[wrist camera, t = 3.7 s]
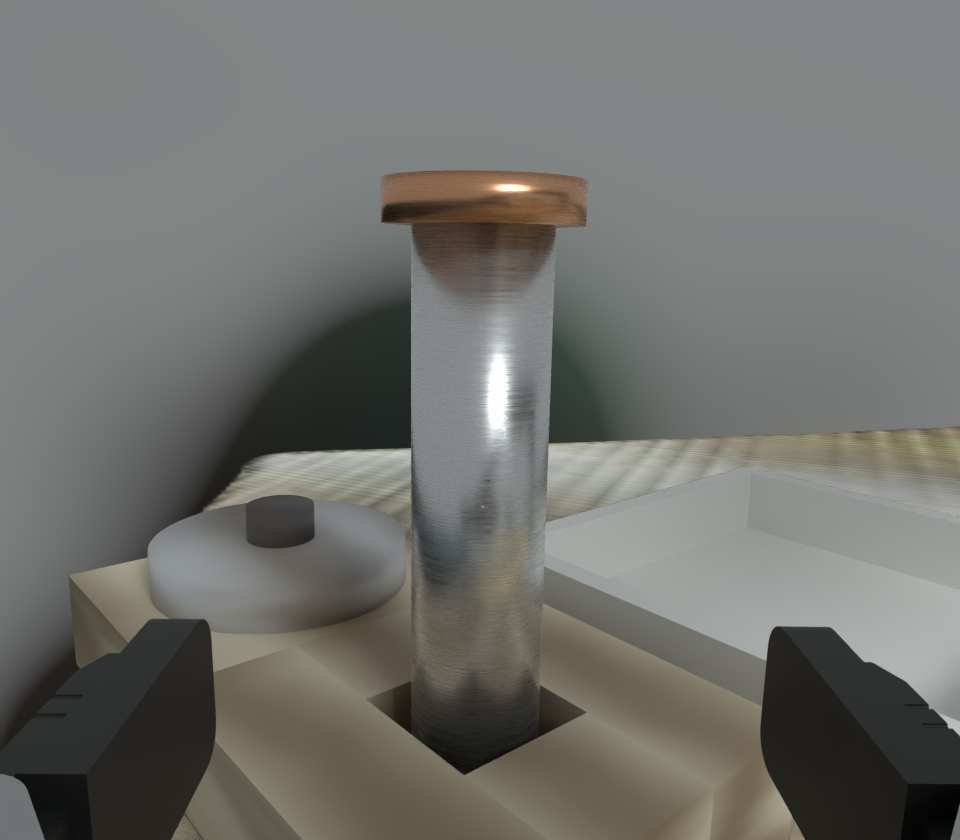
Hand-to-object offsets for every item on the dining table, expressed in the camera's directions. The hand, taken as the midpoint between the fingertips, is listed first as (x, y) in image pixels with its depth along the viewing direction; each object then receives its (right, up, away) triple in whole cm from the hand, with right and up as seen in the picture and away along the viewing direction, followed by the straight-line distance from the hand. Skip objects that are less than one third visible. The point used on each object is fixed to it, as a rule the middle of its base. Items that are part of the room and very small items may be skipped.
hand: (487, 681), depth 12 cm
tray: (+13, -5, +21) cm, 25 cm away
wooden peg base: (-4, -6, +15) cm, 16 cm away
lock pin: (0, -7, +11) cm, 13 cm away
